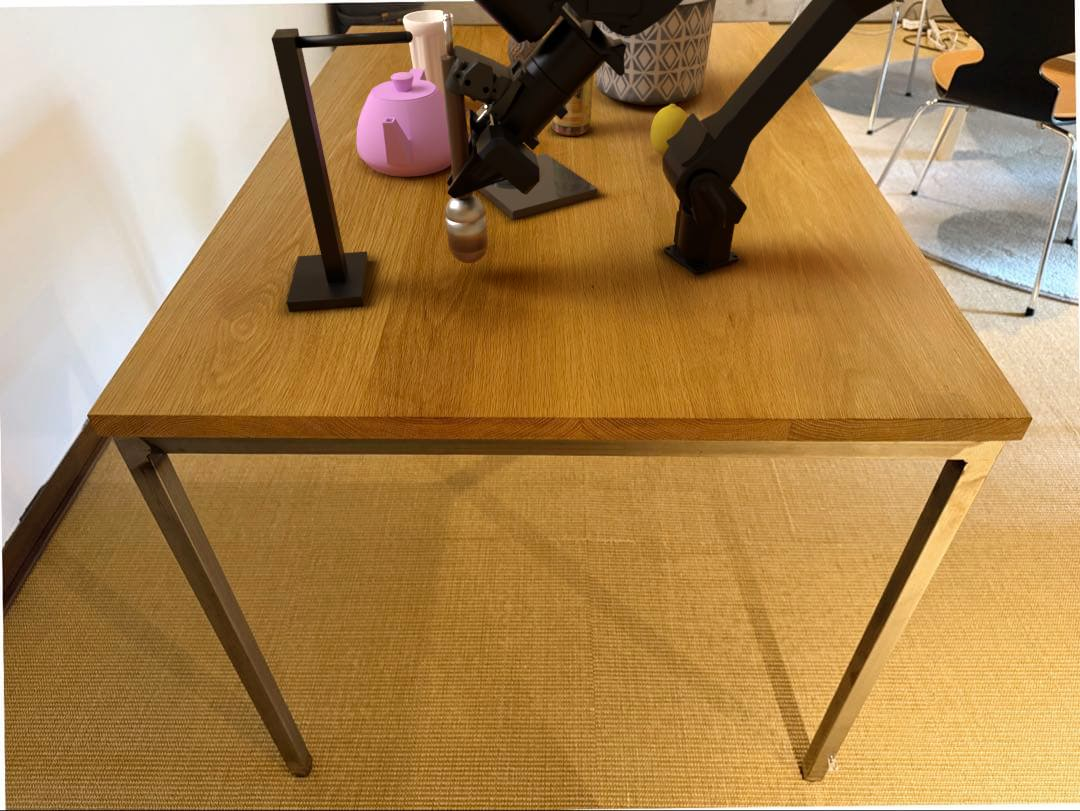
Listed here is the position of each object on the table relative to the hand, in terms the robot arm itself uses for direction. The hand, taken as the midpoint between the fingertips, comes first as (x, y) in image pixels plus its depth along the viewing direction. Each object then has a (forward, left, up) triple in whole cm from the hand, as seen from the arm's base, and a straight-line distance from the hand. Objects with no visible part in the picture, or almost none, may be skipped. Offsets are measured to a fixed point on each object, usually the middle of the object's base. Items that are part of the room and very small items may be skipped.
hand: (450, 190), depth 80 cm
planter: (+38, -54, -10) cm, 67 cm away
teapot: (+34, -8, -10) cm, 36 cm away
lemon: (+14, -40, -11) cm, 44 cm away
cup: (+52, -20, -10) cm, 57 cm away
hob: (+16, -18, -10) cm, 26 cm away
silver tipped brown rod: (-1, -1, -9) cm, 9 cm away
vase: (+62, -43, -10) cm, 76 cm away
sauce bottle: (+31, -34, -10) cm, 47 cm away
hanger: (+4, +10, -10) cm, 15 cm away
